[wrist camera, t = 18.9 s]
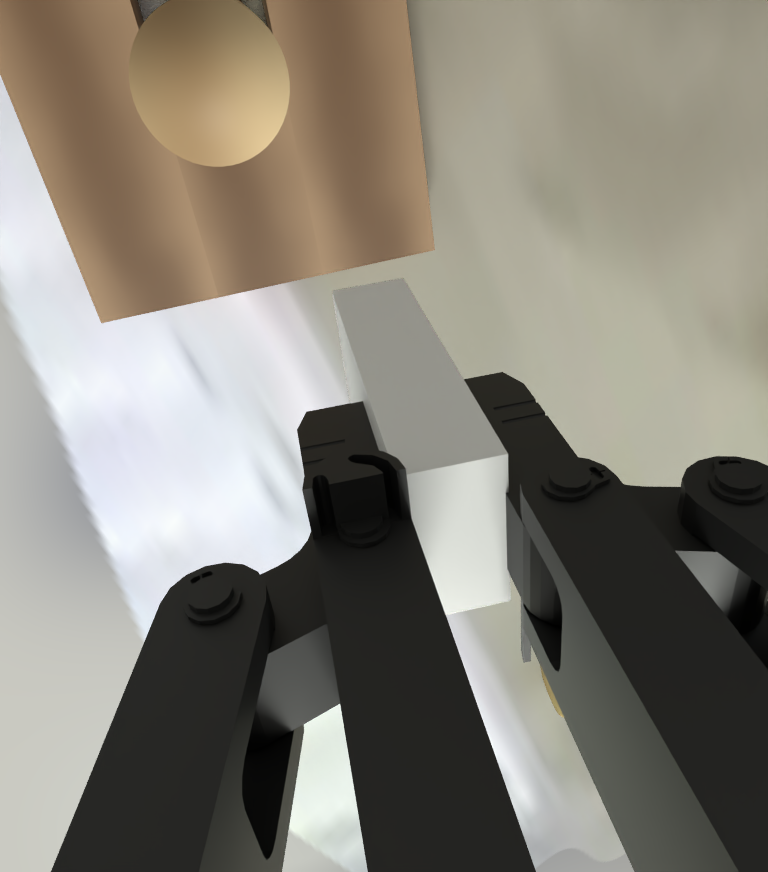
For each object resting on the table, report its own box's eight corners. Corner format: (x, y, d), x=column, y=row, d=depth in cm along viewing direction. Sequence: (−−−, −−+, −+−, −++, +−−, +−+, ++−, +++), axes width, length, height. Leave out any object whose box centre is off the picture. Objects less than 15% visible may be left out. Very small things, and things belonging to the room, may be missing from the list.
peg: (247, -22, 30) (269, -21, 18) (271, 88, 32) (304, 150, 21) (146, -4, 30) (104, 9, 18) (178, 106, 32) (158, 180, 20)
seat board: (352, -310, 26) (367, -340, 23) (419, 231, 37) (434, 250, 35) (-103, -241, 25) (-138, -266, 22) (109, 298, 36) (101, 323, 33)
